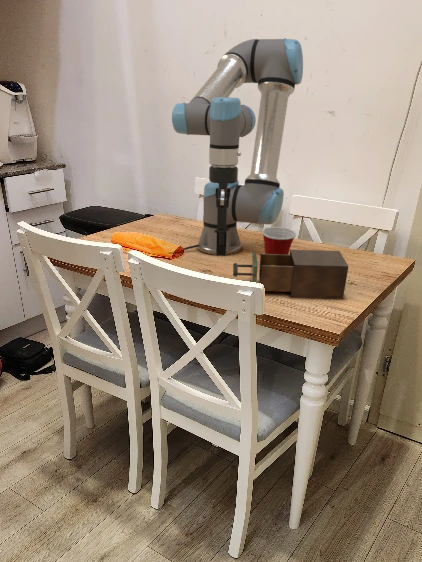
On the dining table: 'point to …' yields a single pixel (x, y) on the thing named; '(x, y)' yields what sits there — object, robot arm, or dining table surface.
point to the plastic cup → (277, 240)
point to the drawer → (271, 271)
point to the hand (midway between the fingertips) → (221, 254)
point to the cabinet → (318, 274)
